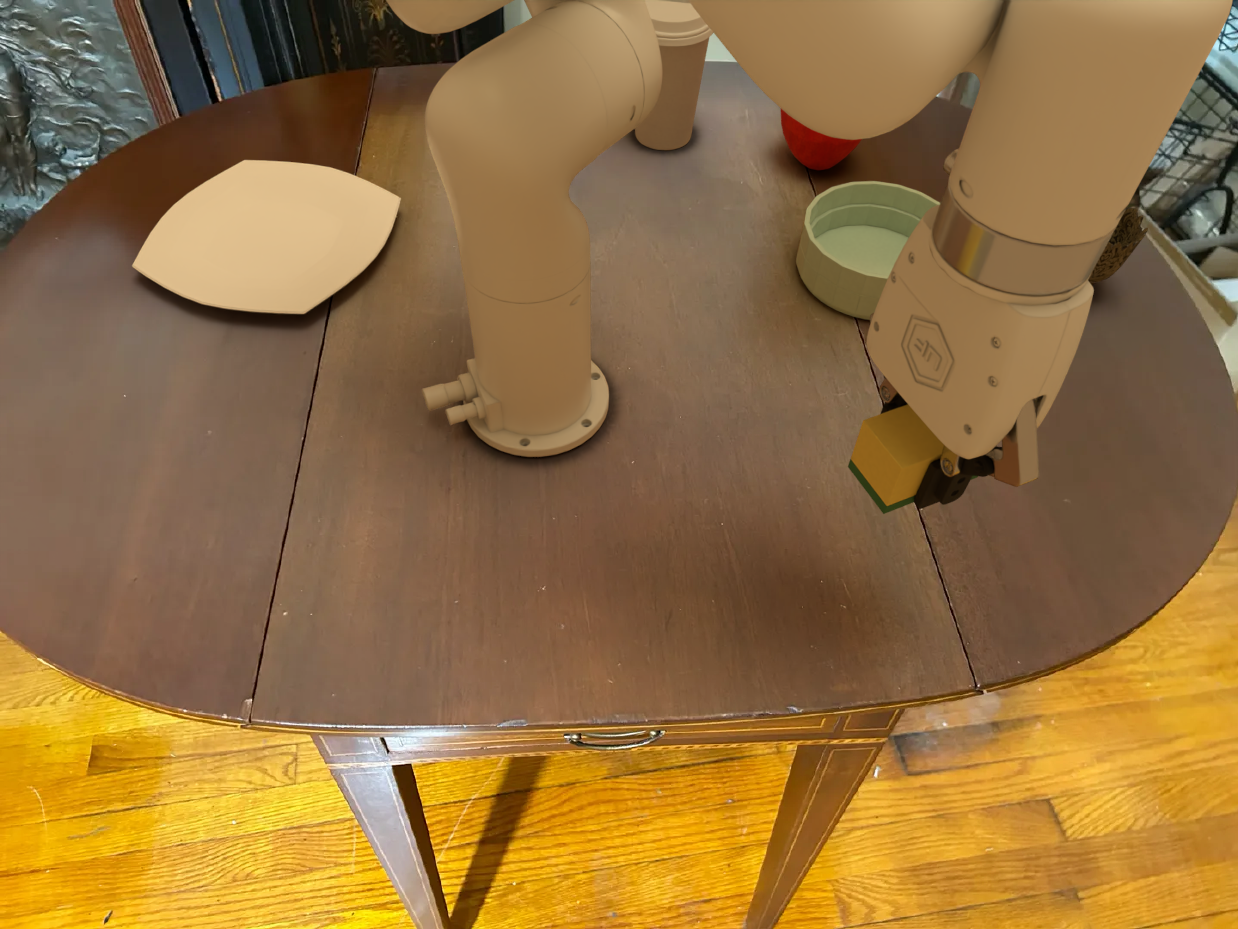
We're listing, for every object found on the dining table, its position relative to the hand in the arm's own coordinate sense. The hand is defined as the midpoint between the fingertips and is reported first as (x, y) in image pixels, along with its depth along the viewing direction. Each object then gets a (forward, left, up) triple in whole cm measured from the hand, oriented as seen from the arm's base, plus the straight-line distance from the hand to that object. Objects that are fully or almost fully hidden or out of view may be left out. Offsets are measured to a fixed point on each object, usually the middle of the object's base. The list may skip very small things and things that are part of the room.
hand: (914, 468), depth 57 cm
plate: (-33, +57, -15) cm, 68 cm away
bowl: (+21, +31, -15) cm, 40 cm away
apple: (+26, +50, -15) cm, 59 cm away
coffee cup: (+12, +61, -15) cm, 64 cm away
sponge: (0, 0, 0) cm, 0 cm away
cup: (+39, +22, -15) cm, 47 cm away
